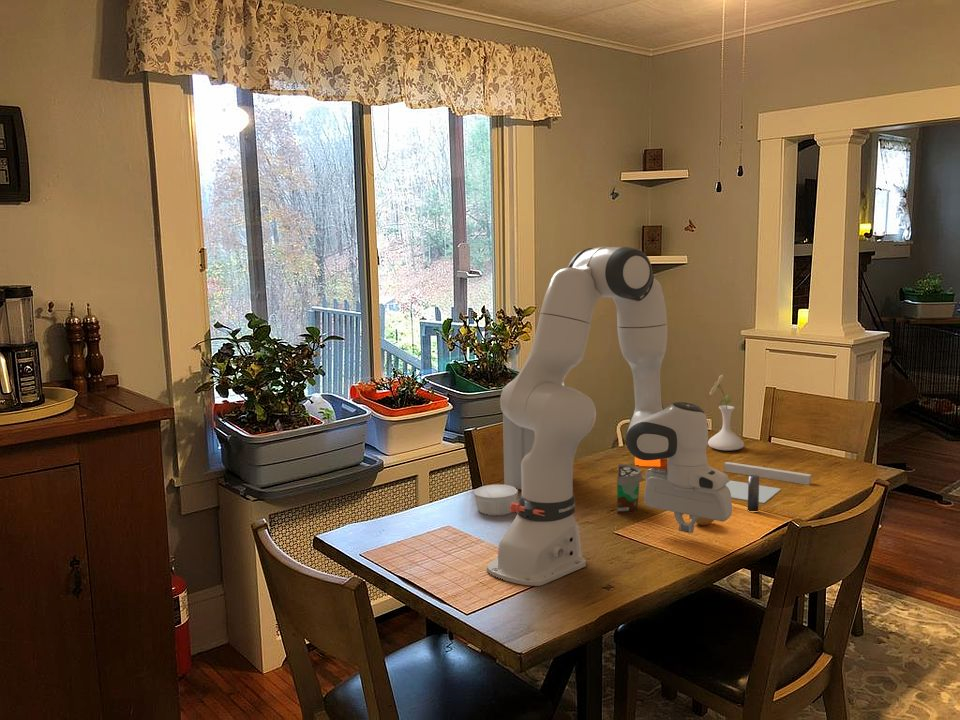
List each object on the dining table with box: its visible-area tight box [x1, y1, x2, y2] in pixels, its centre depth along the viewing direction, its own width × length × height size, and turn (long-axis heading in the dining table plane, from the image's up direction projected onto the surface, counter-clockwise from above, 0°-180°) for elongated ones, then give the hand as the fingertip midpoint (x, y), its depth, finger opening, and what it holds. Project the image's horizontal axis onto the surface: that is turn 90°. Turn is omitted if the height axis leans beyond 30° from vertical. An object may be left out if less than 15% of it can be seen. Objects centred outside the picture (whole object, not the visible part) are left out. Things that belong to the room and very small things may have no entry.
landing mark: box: [726, 480, 782, 504], centre depth 219 cm, size 14×14×1 cm
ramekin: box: [473, 484, 519, 516], centre depth 209 cm, size 11×11×5 cm
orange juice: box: [634, 456, 661, 467], centre depth 248 cm, size 8×9×20 cm
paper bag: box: [501, 381, 566, 490], centre depth 227 cm, size 19×15×28 cm
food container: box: [616, 463, 643, 515], centre depth 207 cm, size 12×6×10 cm, turn 168°
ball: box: [695, 517, 715, 526], centre depth 195 cm, size 6×6×6 cm
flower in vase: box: [707, 373, 745, 451], centre depth 260 cm, size 13×11×25 cm
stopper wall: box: [723, 461, 812, 486], centre depth 231 cm, size 2×24×2 cm, turn 52°
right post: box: [747, 475, 760, 512], centre depth 203 cm, size 3×3×9 cm
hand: (686, 531), depth 186 cm, fingers closed
